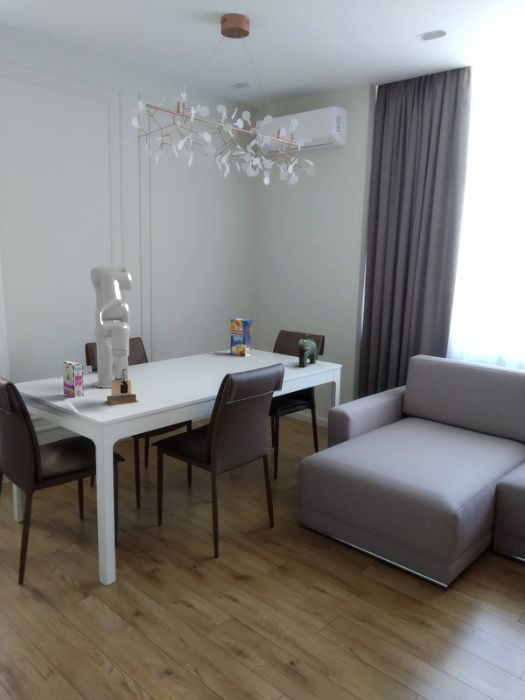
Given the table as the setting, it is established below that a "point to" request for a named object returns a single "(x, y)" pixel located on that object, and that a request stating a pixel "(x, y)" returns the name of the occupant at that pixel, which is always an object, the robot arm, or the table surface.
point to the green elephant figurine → (307, 351)
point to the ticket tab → (116, 388)
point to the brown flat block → (121, 399)
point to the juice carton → (241, 337)
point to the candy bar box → (73, 378)
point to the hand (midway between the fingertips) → (121, 390)
